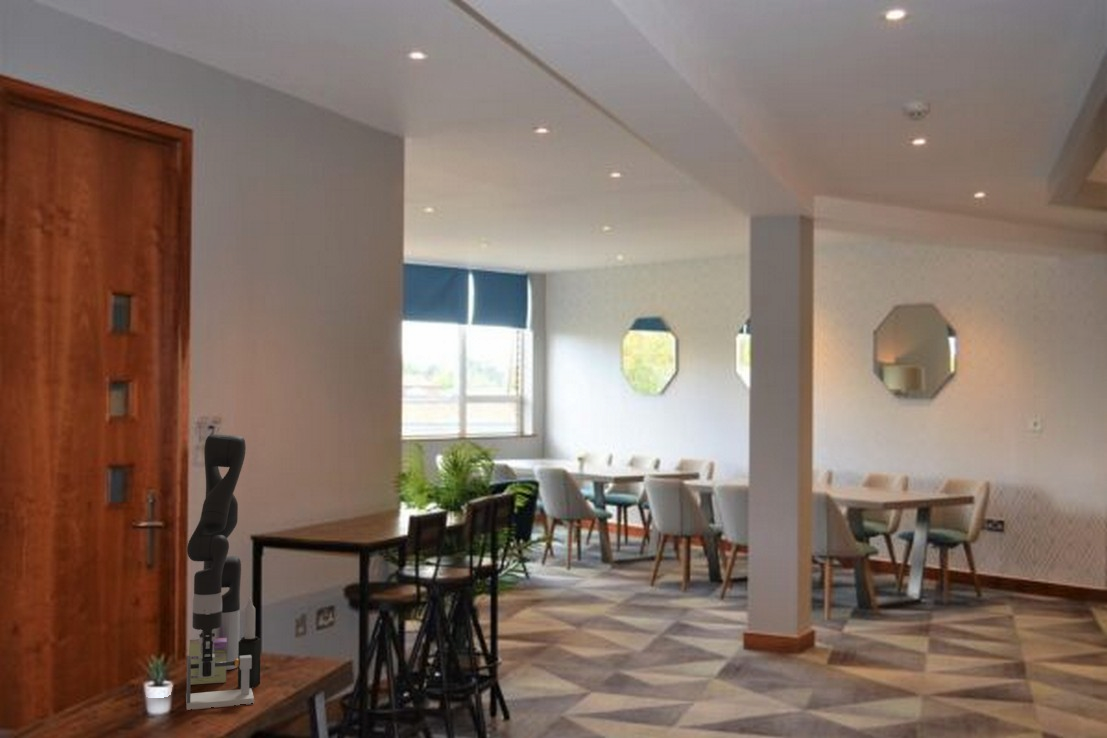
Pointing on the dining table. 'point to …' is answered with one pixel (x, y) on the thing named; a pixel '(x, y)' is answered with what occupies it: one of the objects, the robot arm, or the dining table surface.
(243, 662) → the cord rack
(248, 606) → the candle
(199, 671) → the sleeve
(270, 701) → the dining table surface
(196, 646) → the box
